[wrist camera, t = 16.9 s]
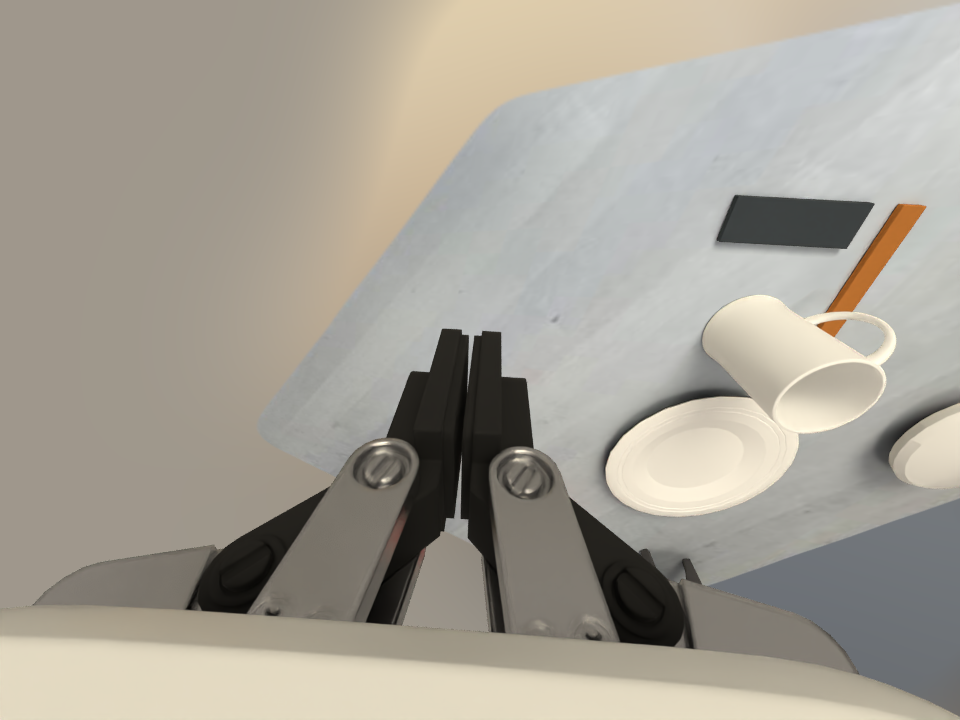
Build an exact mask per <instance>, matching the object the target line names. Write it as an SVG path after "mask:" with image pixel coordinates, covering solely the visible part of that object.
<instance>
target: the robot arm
mask: <svg viewBox="0 0 960 720" xmlns="http://www.w3.org/2000/svg"><path fill="white" fill-rule="evenodd" d="M468 348H469V335H462V330H458V329H442V331H441V335H440V338H439V342H438V345H437V348H436V352H435V355H434V359H433V362H432V366H431V369H430V372H417V371H412V372H411V373H410V375H409V377H408V380H407V383H406V385H405V388H404V391H403V394H402V396H401V399H400V402H399V404H398V407H397V410H396V413H395V415H394V418H393V421H392V423H391V426H390V429H389V431H388V434H387V437H386V438H381V439H375V440H373V441H370V442H368V443H365V444H364V445H362V446H361V447H359V448H358V449H357V450H355V452H354V453H353V454H352V455H351V456H350V457H349V459H348V460H347V462H346V463H345V465H344V466H343V468H342V469H341V471H340V472H339V474H338V475H337V477H336V478H335V480H334V481H333V483H332V484H331V486H330V487H328V488H326V489H325V490H323V491H321V492H319V493H318V494H316V495H314V496H312V497H310V498H309V499H307V500H305V501H304V502H302V503H300V504H298V505H296V506H295V507H293V508H291V509H289V510H287V511H286V512H284V513H282V514H281V515H279V516H277V517H275V518H273V519H272V520H270V521H268V522H266V523H264V524H263V525H261V526H259V527H258V528H256V529H254V530H252V531H250V532H249V533H247V534H245V535H243V536H241V537H240V538H238V539H237V540H235V541H234V542H232V543H231V544H230V545H228V546H227V547H225V548H224V549H218V550H217V549H216V547H215V546H214V545H209V546H203V547H197V548H190V549H184V550H176V551H170V552H163V553H157V554H150V555H144V556H138V557H131V558H125V559H118V560H112V561H105V562H100V563H96V564H93V565H90V566H86V567H83V568H81V569H79V570H77V571H75V572H74V573H72V574H70V575H68V576H66V577H64V578H63V579H61V580H60V581H59V582H57V583H56V584H55V585H53V586H52V587H51V588H49V589H48V590H47V591H45V592H44V593H43V595H42V596H41V597H40V598H39V599H38V600H37V601H36V602H35V603H34V604H33V605H32V606H25V607H14V608H3V609H0V720H960V717H959V716H957V715H955V714H953V713H951V712H949V711H947V710H945V709H943V708H941V707H939V706H937V705H935V704H933V703H931V702H929V701H927V700H924V699H922V698H919V697H917V696H914V695H912V694H910V693H907V692H905V691H902V690H900V689H898V688H895V687H893V686H890V685H888V684H885V683H882V682H879V681H875V680H872V679H870V678H866V677H863V676H860V675H859V673H858V671H857V670H856V667H855V666H854V664H853V663H852V661H851V659H850V658H849V656H848V655H847V653H846V652H845V650H844V649H843V648H842V647H841V646H840V645H839V644H838V643H837V642H836V641H835V640H834V639H833V638H832V637H831V635H829V634H828V633H827V632H826V631H824V630H823V629H822V628H820V627H819V626H818V625H816V624H815V623H814V622H812V621H811V620H808V619H806V618H804V617H802V616H800V615H797V614H795V613H793V612H789V611H786V610H783V609H779V608H776V607H773V606H770V605H767V604H763V603H760V602H757V601H754V600H750V599H747V598H744V597H740V596H737V595H734V594H730V593H727V592H724V591H721V590H717V589H714V588H711V587H708V586H705V585H701V584H698V583H695V582H691V581H688V580H685V579H681V581H680V582H679V583H677V582H674V581H670V580H668V579H667V578H666V577H665V576H664V575H663V574H662V573H661V572H660V571H659V570H658V569H657V568H655V567H654V566H653V565H652V564H651V563H649V562H648V561H647V560H646V559H644V558H643V557H642V556H641V555H640V554H638V553H637V552H636V551H635V550H633V549H632V548H631V547H630V546H628V545H627V544H626V543H625V542H624V541H622V540H621V539H620V538H619V537H617V536H616V535H615V534H614V533H613V532H611V531H610V530H609V529H608V528H606V527H605V526H604V525H603V524H602V523H600V522H599V521H598V520H597V519H595V518H594V517H593V516H592V515H591V514H589V513H588V512H587V511H586V510H584V509H583V508H582V507H581V506H579V505H578V504H577V503H576V502H575V501H573V500H572V499H571V498H570V497H569V496H568V493H567V490H566V487H565V484H564V481H563V479H562V476H561V473H560V471H559V469H558V467H557V465H556V463H555V462H554V461H553V460H552V459H551V458H550V457H549V456H547V455H546V454H544V453H542V452H541V451H539V450H536V449H534V447H533V438H532V428H531V419H530V409H529V400H528V390H527V382H526V379H525V378H511V377H501V332H491V331H482V336H474V344H473V352H472V360H471V368H470V376H469V384H468V392H467V383H468ZM461 456H462V481H461V519H469V520H468V539H469V540H470V541H471V542H472V543H473V545H474V546H475V547H476V548H477V549H478V550H479V551H480V553H481V554H482V559H481V561H482V571H483V581H484V591H485V600H486V610H487V621H488V631H489V632H480V631H465V630H454V629H440V628H427V627H413V626H402V624H403V621H404V618H405V615H406V612H407V609H408V606H409V603H410V599H411V596H412V593H413V590H414V587H415V584H416V581H417V578H418V575H419V572H420V568H421V566H422V563H423V560H424V557H425V551H426V547H427V546H428V545H429V544H430V543H432V542H433V541H434V540H435V539H437V538H438V537H439V536H440V531H444V529H445V521H446V518H454V515H455V507H456V498H457V490H458V481H459V473H460V464H461Z"/></svg>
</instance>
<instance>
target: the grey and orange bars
mask: <svg viewBox="0 0 960 720" xmlns="http://www.w3.org/2000/svg"><path fill="white" fill-rule="evenodd" d="M873 206H874V203H870V202H852V201H834V200H815V199H797V198H778V197H760V196H741V195H735V197H734V199H733V202H732V204H731V207H730V209H729V211H728V214H727V216H726V219H725V221H724V223H723V226H722V228H721V231H720V233H719V235H718V238H717V241H719V242H733V243H751V244H769V245H786V246H804V247H822V248H840V249H847V247H848V246H849V244H850V243H851V241H852V239H853V238H854V236H855V235H856V233H857V232H858V230H859V228H860V227H861V225H862V224H863V222H864V220H865V219H866V217H867V216H868V214H869V212H870V211H871V209H872V208H873ZM925 208H926V206H922V205H908V204H898V205H897V207H896V208H895V210H894V211H893V213H892V214H891V216H890V217H889V219H888V220H887V222H886V223H885V225H884V226H883V228H882V229H881V231H880V232H879V234H878V235H877V237H876V238H875V240H874V241H873V243H872V244H871V246H870V247H869V249H868V250H867V252H866V253H865V255H864V256H863V258H862V259H861V261H860V262H859V264H858V265H857V267H856V268H855V270H854V271H853V273H852V274H851V276H850V277H849V279H848V280H847V282H846V283H845V285H844V287H843V288H842V290H841V291H840V293H839V294H838V296H837V297H836V299H835V300H834V302H833V303H832V305H831V306H830V308H829V309H828V311H827V312H826V313H829V312H852V311H853V310H854V309H855V307H856V306H857V304H858V303H859V302H860V300H861V299H862V297H863V296H864V294H865V293H866V292H867V290H868V289H869V287H870V286H871V285H872V283H873V282H874V280H875V279H876V278H877V276H878V275H879V273H880V272H881V270H882V269H883V268H884V266H885V265H886V263H887V262H888V261H889V259H890V258H891V256H892V255H893V254H894V252H895V251H896V249H897V248H898V247H899V245H900V244H901V242H902V241H903V239H904V238H905V237H906V235H907V234H908V232H909V231H910V230H911V228H912V227H913V225H914V224H915V223H916V221H917V220H918V218H919V217H920V215H921V214H922V213H923V211H924V210H925ZM845 321H846V320H833V321H827V322H823V323H820V324H818V326H817V327H818V328H820V329H821V330H823V331H825V332H826V333H828V334H829V335H831V336H833V337H835V335H836V334H837V333H838V331H839V330H840V328H841V327H842V326H843V324H844V323H845Z"/></svg>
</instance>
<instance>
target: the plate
mask: <svg viewBox="0 0 960 720" xmlns="http://www.w3.org/2000/svg"><path fill="white" fill-rule="evenodd" d="M798 447H799V440H798V433H793V432H789V431H786V430H784V429H782V428H780V427H779V426H778V425H777V424H776V423H775V422H774V421H773V420H772V419H771V418H770V417H769V416H768V415H767V414H766V413H765V412H764V411H763V410H762V408H761V407H760V406H759V405H758V404H757V403H756V402H755V401H754V400H753V399H752V398H750V397H740V396H714V397H707V398H699V399H692V400H689V401H686V402H683V403H679V404H676V405H673V406H670V407H667V408H664V409H662V410H660V411H658V412H656V413H655V414H653V415H651V416H649V417H647V418H645V419H643V420H641V421H640V422H639V423H637V424H636V425H635V426H634V427H632V428H631V429H630V430H629V431H627V432H626V433H625V434H624V435H623V436H622V437H621V438H620V439H619V441H618V442H617V443H616V445H615V446H614V447H613V449H612V450H611V451H610V454H609V457H608V460H607V463H606V466H605V471H606V482H607V484H608V486H609V488H610V490H611V492H612V494H613V495H614V496H615V497H617V498H618V499H619V500H620V501H621V502H622V503H623V504H625V505H627V506H629V507H631V508H634V509H636V510H638V511H641V512H645V513H649V514H654V515H658V516H673V517H683V516H694V515H703V514H707V513H712V512H716V511H720V510H724V509H727V508H729V507H732V506H735V505H738V504H740V503H743V502H745V501H747V500H749V499H751V498H752V497H754V496H756V495H758V494H760V493H762V492H763V491H765V490H766V489H767V488H768V487H770V486H771V485H772V484H773V483H775V482H776V481H777V480H778V479H780V478H781V476H782V475H783V474H784V473H785V471H786V470H787V469H788V468H789V466H790V465H791V464H792V463H793V460H794V458H795V455H796V452H797V450H798Z"/></svg>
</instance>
